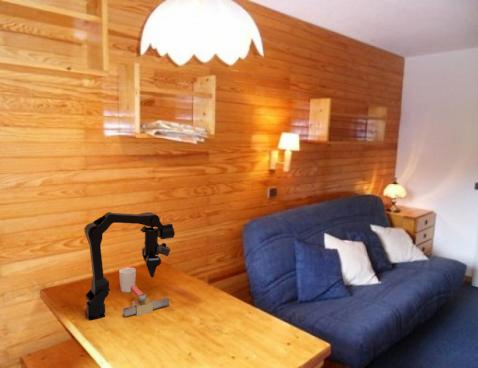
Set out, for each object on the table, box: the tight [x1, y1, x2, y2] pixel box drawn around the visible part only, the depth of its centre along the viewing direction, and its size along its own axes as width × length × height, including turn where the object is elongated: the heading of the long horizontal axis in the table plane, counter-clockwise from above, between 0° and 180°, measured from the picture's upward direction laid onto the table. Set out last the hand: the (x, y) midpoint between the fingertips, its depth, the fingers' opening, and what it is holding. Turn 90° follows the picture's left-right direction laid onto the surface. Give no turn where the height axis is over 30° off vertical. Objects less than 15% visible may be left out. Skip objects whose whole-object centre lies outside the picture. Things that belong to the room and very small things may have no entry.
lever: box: [131, 285, 147, 301], centre depth 165 cm, size 14×3×2 cm, turn 35°
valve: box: [122, 296, 171, 318], centre depth 163 cm, size 20×6×5 cm, turn 125°
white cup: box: [118, 267, 137, 293], centre depth 183 cm, size 8×8×10 cm
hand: (150, 273), depth 170 cm, fingers open, 9 cm apart
